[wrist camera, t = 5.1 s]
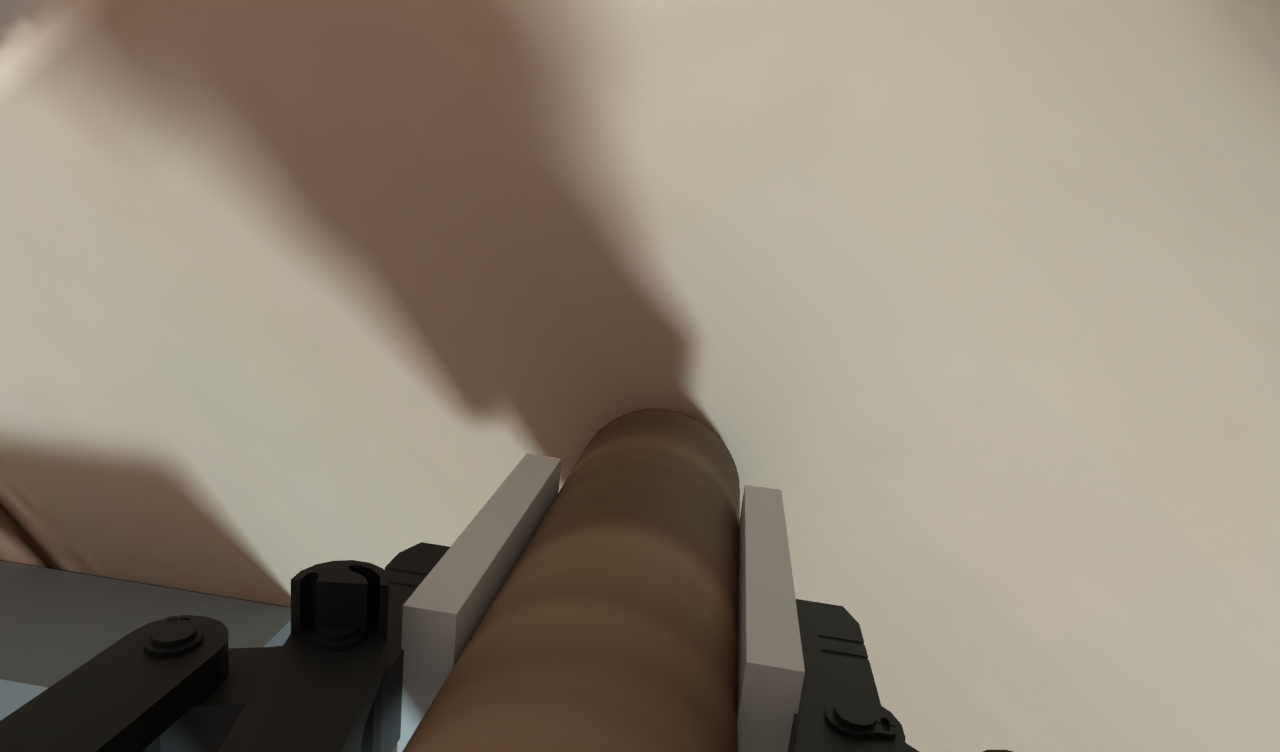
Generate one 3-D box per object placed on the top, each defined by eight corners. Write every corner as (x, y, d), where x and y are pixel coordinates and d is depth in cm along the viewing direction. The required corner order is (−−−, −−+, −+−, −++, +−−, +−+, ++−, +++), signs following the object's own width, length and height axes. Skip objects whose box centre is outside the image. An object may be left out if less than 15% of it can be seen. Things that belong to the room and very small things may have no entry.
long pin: (584, 398, 19) (223, 876, 6) (750, 421, 19) (771, 986, 6) (570, 550, 20) (229, 1262, 7) (727, 575, 20) (698, 1379, 6)
